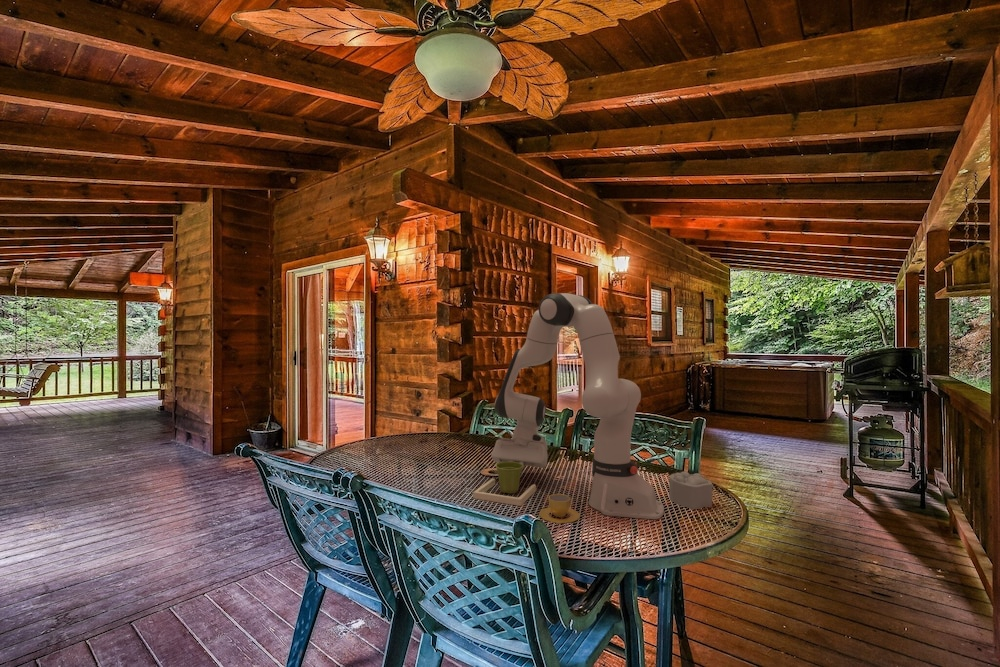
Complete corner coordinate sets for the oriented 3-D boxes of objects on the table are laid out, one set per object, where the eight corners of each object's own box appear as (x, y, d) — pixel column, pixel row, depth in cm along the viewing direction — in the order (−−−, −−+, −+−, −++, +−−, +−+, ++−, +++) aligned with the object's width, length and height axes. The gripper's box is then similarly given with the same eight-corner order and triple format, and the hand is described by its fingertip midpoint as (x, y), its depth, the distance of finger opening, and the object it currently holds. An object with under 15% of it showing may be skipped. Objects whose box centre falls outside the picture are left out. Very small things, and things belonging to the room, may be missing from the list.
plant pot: (490, 488, 159) (490, 463, 159) (514, 484, 163) (514, 460, 163) (503, 497, 150) (503, 470, 150) (528, 493, 155) (528, 467, 155)
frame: (536, 490, 157) (536, 484, 157) (520, 506, 143) (520, 499, 143) (491, 484, 163) (491, 478, 163) (473, 498, 149) (473, 492, 149)
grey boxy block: (692, 511, 140) (692, 482, 140) (660, 497, 152) (661, 470, 152) (716, 506, 144) (717, 478, 144) (684, 492, 156) (684, 467, 156)
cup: (576, 526, 129) (576, 507, 129) (534, 520, 133) (534, 502, 133) (583, 511, 140) (583, 493, 140) (544, 506, 144) (544, 488, 144)
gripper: (495, 432, 172) (484, 466, 163) (548, 438, 164) (539, 473, 155) (499, 442, 176) (489, 475, 167) (551, 447, 168) (543, 482, 159)
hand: (513, 474), depth 161 cm, fingers closed, pressing on plant pot
